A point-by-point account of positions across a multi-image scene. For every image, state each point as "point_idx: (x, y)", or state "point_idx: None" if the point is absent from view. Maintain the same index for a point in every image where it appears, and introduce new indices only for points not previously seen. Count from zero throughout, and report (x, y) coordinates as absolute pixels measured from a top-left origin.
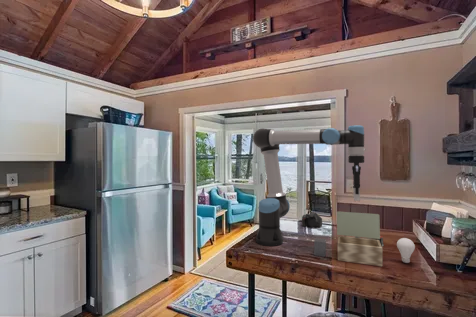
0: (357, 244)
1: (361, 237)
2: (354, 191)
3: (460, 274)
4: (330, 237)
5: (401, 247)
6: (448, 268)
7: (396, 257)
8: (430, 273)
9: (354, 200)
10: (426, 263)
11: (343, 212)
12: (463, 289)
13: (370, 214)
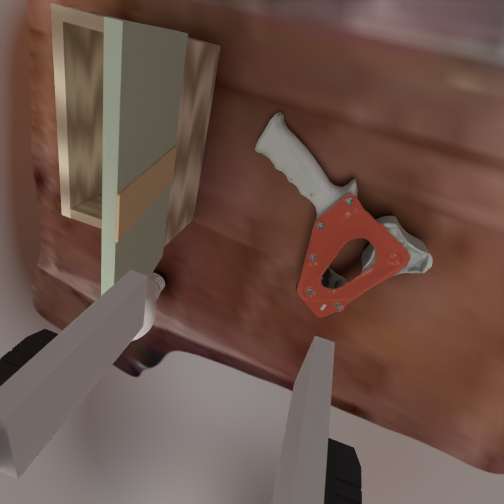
0: (66, 119)
1: (322, 218)
2: (38, 356)
3: (122, 356)
4: (487, 50)
5: None
6: (150, 356)
7: (200, 275)
8: None
9: (129, 273)
10: (170, 329)
11: (105, 92)
12: (46, 310)
13: (103, 291)
